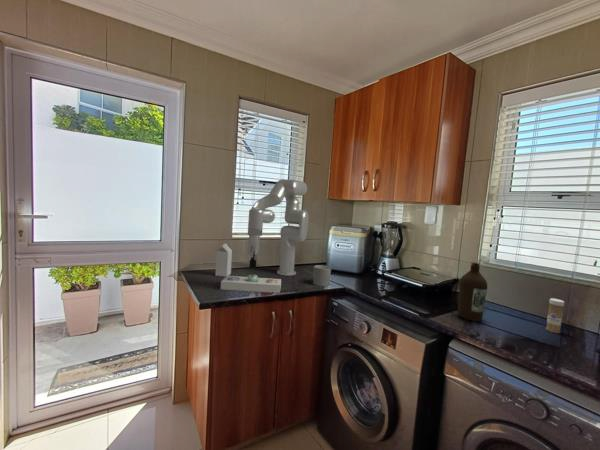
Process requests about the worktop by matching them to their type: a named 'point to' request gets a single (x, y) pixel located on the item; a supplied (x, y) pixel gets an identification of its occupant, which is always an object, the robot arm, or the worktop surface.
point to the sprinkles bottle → (555, 315)
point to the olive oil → (472, 294)
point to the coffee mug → (321, 275)
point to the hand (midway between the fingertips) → (252, 267)
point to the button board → (251, 285)
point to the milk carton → (223, 261)
